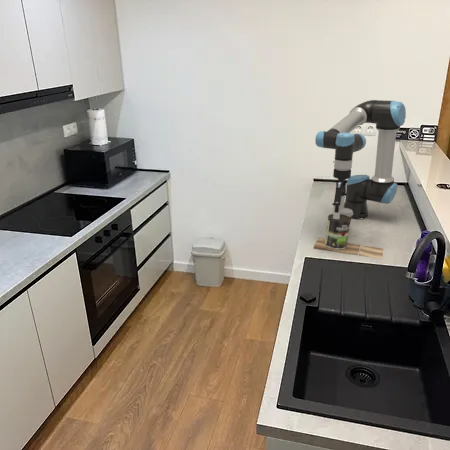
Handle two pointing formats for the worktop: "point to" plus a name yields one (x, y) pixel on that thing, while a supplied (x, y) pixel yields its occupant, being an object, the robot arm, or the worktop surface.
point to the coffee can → (337, 232)
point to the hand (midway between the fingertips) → (338, 213)
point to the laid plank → (371, 252)
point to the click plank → (349, 249)
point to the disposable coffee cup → (346, 212)
